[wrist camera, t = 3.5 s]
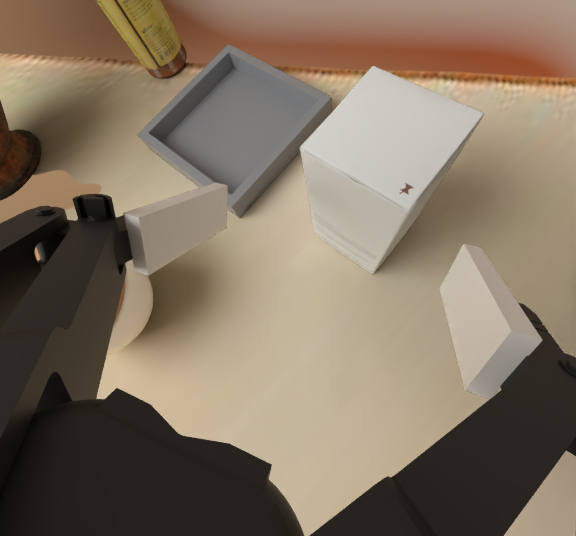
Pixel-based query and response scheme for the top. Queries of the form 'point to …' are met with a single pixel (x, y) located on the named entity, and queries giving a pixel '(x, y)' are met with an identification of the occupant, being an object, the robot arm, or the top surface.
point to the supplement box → (380, 163)
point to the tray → (237, 126)
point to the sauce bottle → (147, 34)
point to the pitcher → (16, 157)
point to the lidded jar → (130, 308)
